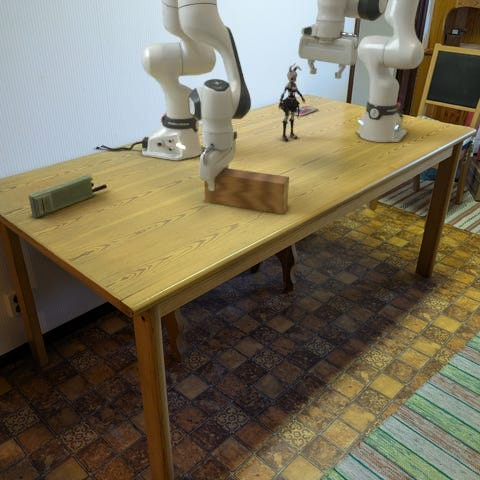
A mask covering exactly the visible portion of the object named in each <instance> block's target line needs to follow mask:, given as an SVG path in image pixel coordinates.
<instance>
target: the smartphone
mask: <svg viewBox="0 0 480 480" xmlns="http://www.w3.org/2000/svg"><path fill="white" fill-rule="evenodd" d="M299 109H300V111H299V116H300V117H303V116H306V115H308V114H311V113H313V112H316V111H318V108H317V107H314V106H309V105H303V106H301V107H299ZM300 113H301V114H300ZM290 114H291V112H290ZM294 116H298V108H297V112H295V115H294ZM299 116H298V117H299Z"/></svg>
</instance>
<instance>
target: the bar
mask: <svg viewBox="0 0 480 480" xmlns="http://www.w3.org/2000/svg"><path fill="white" fill-rule="evenodd" d="M214 183H215V184H216V189H215V190H214V191H210V190H209V189H208V183H207V181H204V202H206V203H210V204H211V203H212V204H217V205H222V206H223V205H224V206H230V207H236V208H242V209H249V210H255V211H261V212H267V213H272V214H279V215H284V213H285V211H286V209H287V208H288V201H289V186H290V176H285V175H278V174H271V173H264V172H257V171H251V170H250V171H249V170H242V169H235V168H229V167H228V168H224V169H223V170H222V171H221V172H220V173H219V174H218V175H217V176H216V177H215V180H214Z"/></svg>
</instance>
